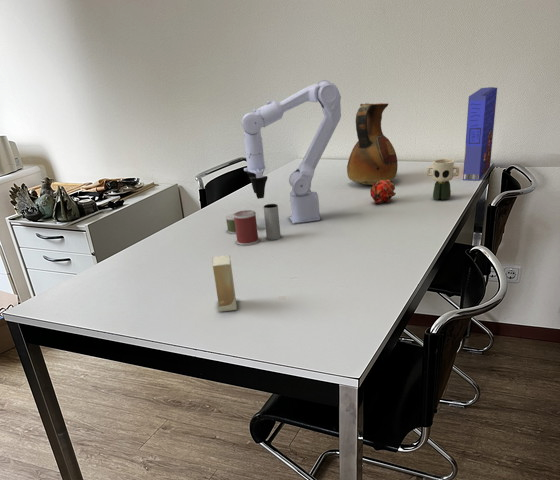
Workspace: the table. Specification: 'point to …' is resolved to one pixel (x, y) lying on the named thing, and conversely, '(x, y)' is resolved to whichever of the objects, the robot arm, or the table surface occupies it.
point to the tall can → (246, 227)
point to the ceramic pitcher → (371, 148)
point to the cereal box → (479, 133)
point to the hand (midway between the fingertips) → (259, 195)
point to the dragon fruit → (382, 191)
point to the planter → (272, 221)
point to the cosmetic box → (224, 283)
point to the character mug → (442, 177)
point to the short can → (231, 223)
